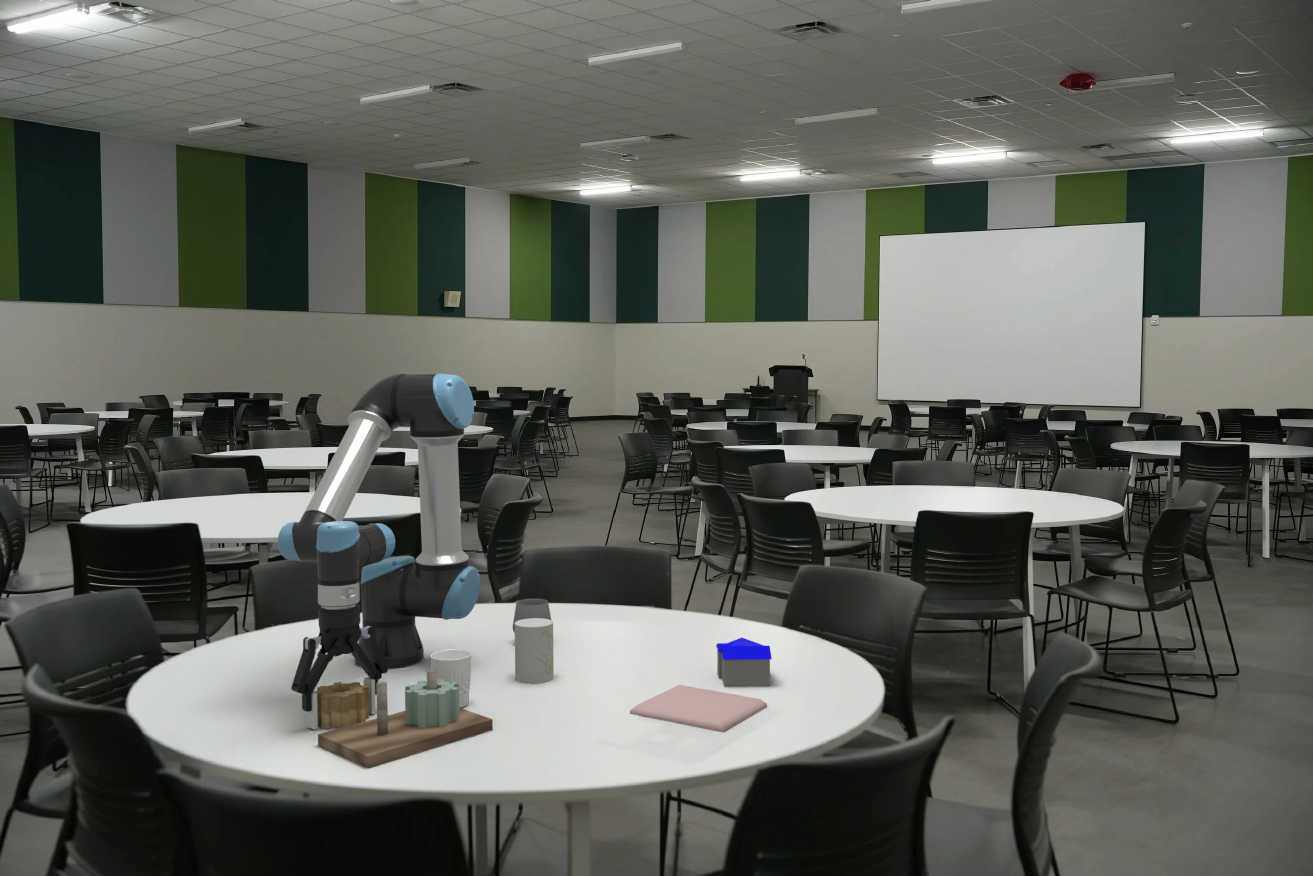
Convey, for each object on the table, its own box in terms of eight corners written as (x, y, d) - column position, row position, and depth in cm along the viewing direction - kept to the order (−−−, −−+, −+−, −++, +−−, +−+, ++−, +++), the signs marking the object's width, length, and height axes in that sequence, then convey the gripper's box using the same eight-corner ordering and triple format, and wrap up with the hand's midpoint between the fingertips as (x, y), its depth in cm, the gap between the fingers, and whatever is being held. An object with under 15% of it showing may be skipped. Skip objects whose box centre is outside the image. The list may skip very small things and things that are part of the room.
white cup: (433, 699, 219) (432, 649, 219) (473, 698, 220) (472, 648, 219) (428, 711, 212) (427, 660, 211) (470, 710, 212) (469, 659, 212)
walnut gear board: (318, 745, 193) (316, 683, 192) (440, 711, 212) (439, 655, 211) (367, 768, 182) (366, 703, 181) (492, 730, 201) (491, 670, 200)
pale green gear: (394, 722, 199) (393, 689, 199) (432, 708, 207) (431, 676, 207) (432, 731, 194) (432, 698, 193) (470, 716, 202) (469, 684, 201)
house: (715, 673, 237) (715, 637, 237) (764, 673, 238) (765, 637, 237) (720, 688, 227) (720, 650, 226) (771, 687, 227) (771, 649, 227)
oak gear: (305, 721, 206) (304, 689, 205) (350, 709, 213) (350, 679, 212) (332, 732, 199) (331, 700, 199) (378, 720, 206) (377, 688, 206)
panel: (642, 686, 230) (642, 675, 230) (787, 712, 212) (787, 701, 212) (538, 733, 201) (538, 721, 201) (695, 769, 183) (695, 755, 183)
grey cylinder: (547, 684, 229) (546, 628, 228) (509, 682, 231) (509, 626, 230) (558, 674, 237) (557, 619, 236) (522, 672, 239) (521, 617, 238)
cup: (560, 641, 265) (559, 600, 264) (535, 650, 257) (535, 607, 256) (529, 636, 270) (529, 596, 269) (504, 644, 262) (504, 603, 261)
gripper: (290, 618, 193) (293, 740, 195) (405, 598, 211) (406, 709, 212) (269, 612, 199) (272, 730, 200) (383, 592, 216) (385, 701, 217)
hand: (341, 720), depth 206 cm, fingers open, 11 cm apart
